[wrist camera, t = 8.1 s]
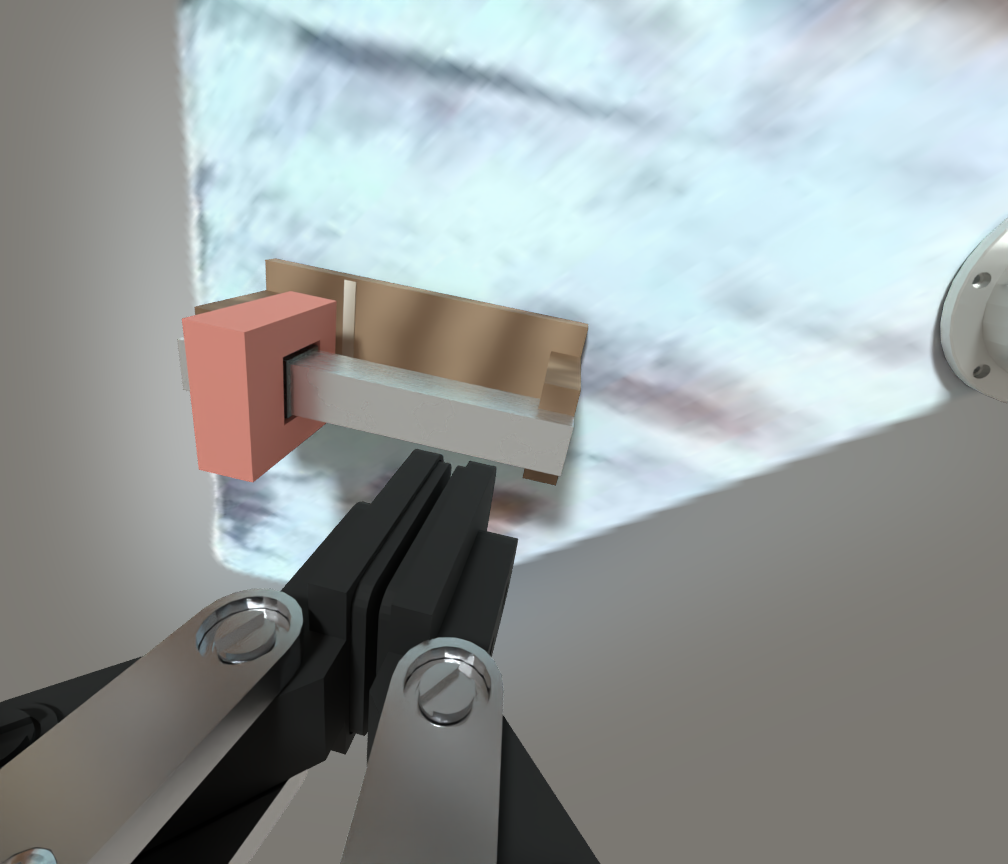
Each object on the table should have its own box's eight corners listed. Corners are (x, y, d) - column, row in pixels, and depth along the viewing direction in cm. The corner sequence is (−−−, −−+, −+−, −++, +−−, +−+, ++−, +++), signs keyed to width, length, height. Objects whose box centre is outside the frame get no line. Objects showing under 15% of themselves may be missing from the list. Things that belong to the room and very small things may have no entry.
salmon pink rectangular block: (336, 300, 30) (244, 332, 22) (333, 417, 33) (253, 482, 25) (290, 291, 30) (181, 318, 22) (292, 407, 33) (199, 469, 25)
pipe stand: (588, 323, 32) (590, 355, 25) (555, 454, 36) (548, 513, 29) (275, 258, 33) (190, 270, 26) (279, 391, 37) (207, 433, 30)
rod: (575, 402, 28) (574, 425, 25) (561, 453, 29) (559, 481, 26) (217, 323, 29) (174, 336, 26) (221, 376, 30) (181, 394, 27)
